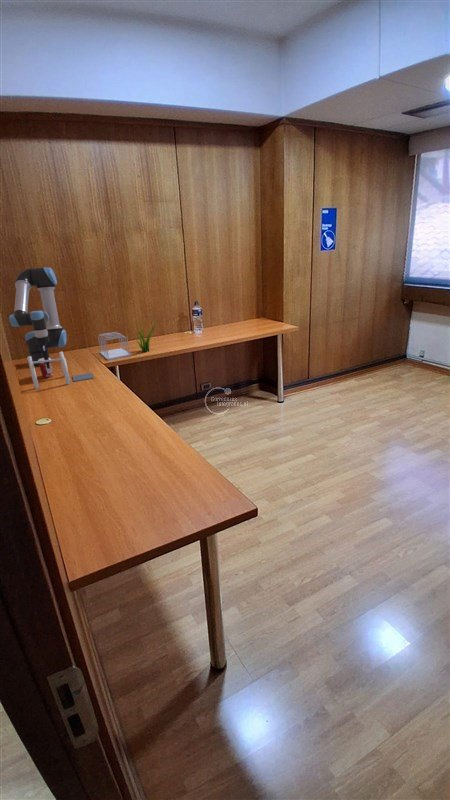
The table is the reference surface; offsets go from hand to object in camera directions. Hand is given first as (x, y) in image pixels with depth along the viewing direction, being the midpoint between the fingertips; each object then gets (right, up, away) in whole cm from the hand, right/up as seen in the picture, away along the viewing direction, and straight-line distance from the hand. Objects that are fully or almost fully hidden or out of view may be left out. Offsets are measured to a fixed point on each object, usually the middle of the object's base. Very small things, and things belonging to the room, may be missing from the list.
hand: (49, 371), depth 254 cm
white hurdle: (+6, -8, -12) cm, 15 cm away
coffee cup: (-1, -6, +2) cm, 7 cm away
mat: (+23, -4, -5) cm, 24 cm away
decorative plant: (+53, +19, +52) cm, 77 cm away
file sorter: (+30, +15, +45) cm, 55 cm away
